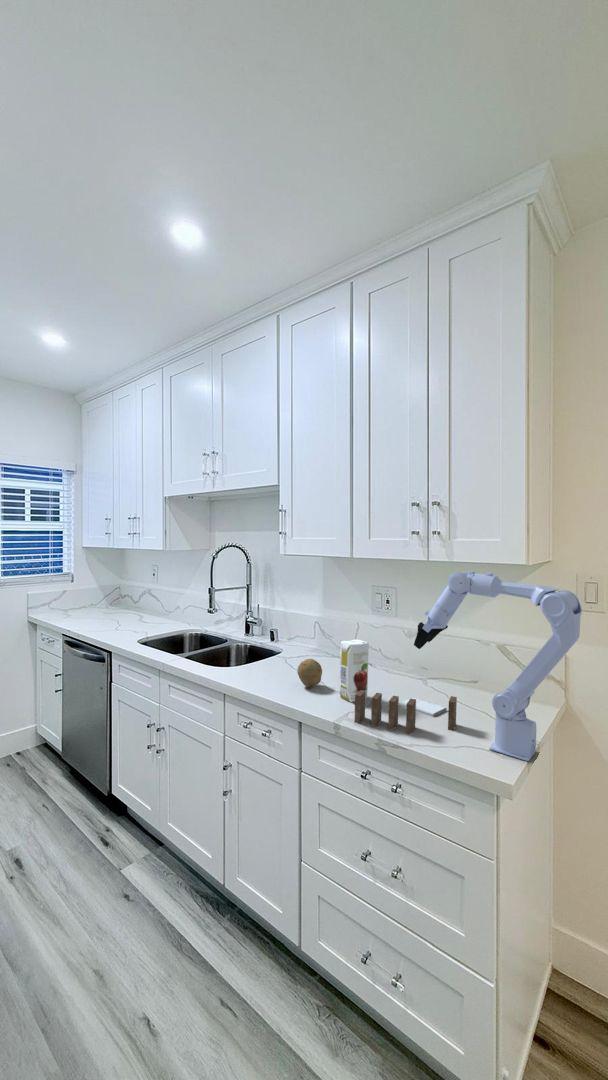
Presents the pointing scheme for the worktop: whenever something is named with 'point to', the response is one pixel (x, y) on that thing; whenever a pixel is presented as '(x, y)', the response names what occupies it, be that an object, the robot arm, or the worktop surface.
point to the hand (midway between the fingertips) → (421, 643)
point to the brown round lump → (310, 672)
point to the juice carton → (353, 668)
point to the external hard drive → (425, 707)
